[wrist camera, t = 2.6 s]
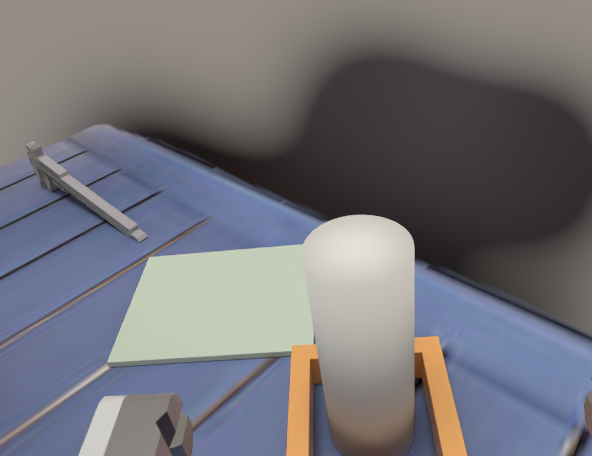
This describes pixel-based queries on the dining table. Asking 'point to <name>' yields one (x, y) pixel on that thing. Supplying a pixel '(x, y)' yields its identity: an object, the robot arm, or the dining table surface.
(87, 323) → the dining table surface
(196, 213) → the dining table surface
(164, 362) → the mat
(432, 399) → the orange square frame
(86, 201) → the caliper
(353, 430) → the tall white pillar
